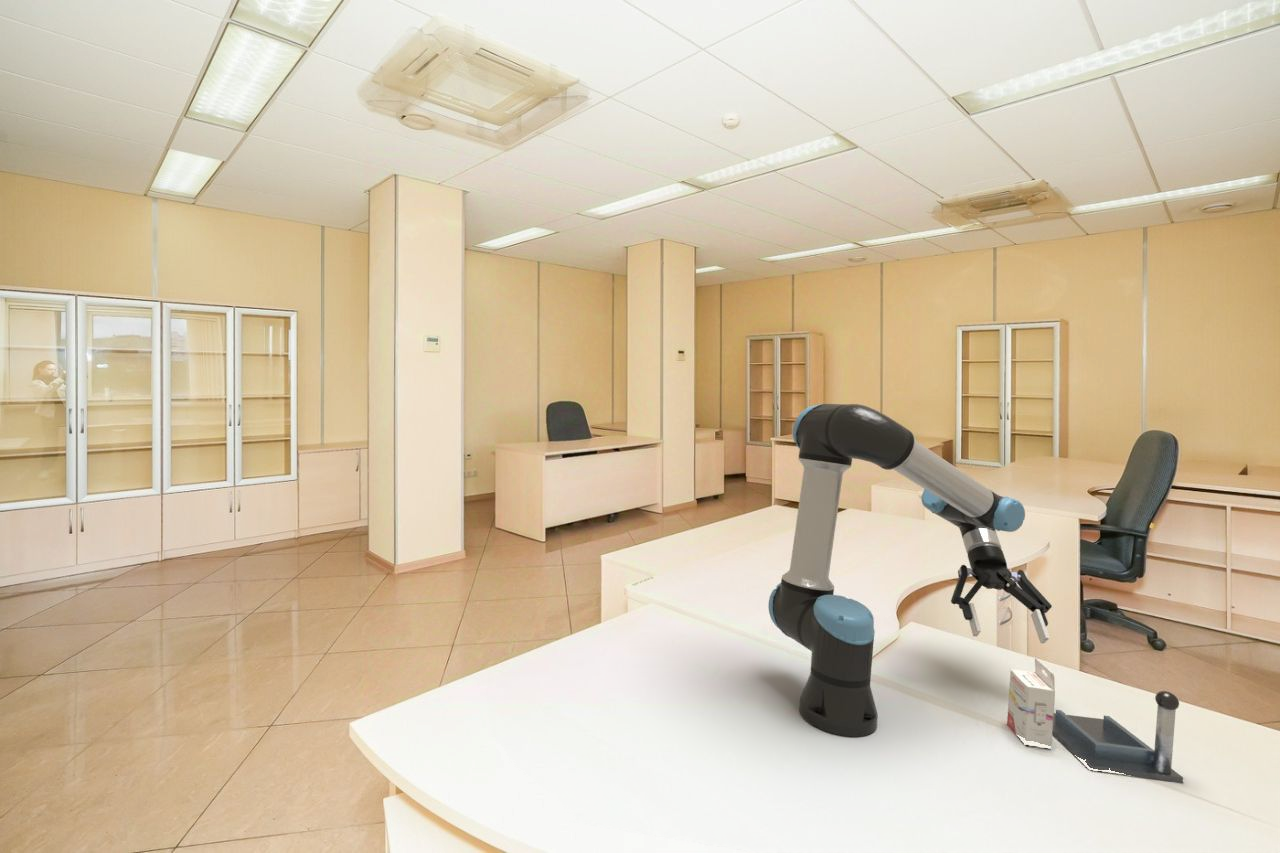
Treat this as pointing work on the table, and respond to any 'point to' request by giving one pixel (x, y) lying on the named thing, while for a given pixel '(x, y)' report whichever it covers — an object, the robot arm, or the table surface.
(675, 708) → the table surface
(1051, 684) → the ink cartridge box
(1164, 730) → the keeper bracket
